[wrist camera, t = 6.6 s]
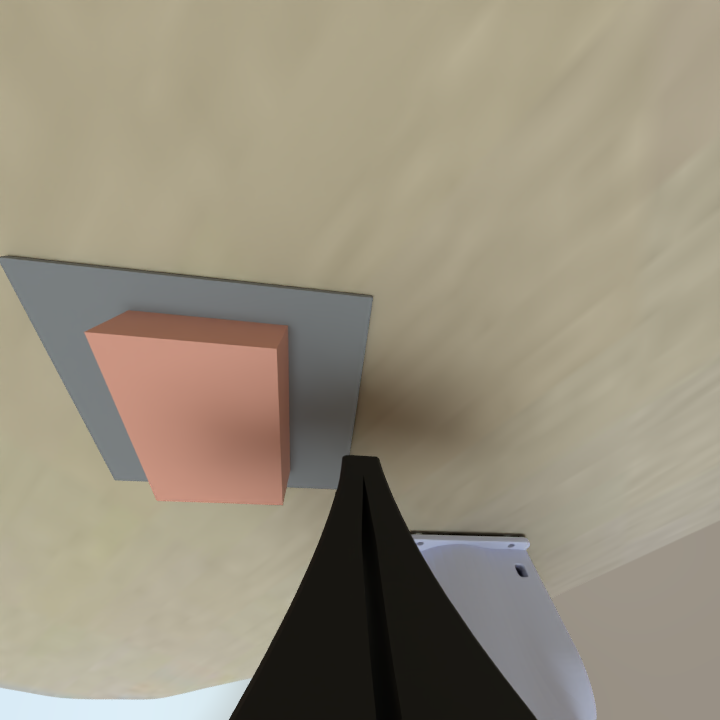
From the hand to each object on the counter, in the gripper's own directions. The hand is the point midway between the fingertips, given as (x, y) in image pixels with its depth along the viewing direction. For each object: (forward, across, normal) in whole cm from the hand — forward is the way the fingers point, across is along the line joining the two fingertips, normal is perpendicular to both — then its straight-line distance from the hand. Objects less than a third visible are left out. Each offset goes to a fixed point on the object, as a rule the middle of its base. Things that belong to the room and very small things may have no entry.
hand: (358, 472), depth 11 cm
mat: (+3, +7, 0) cm, 7 cm away
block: (+2, +3, 0) cm, 4 cm away
